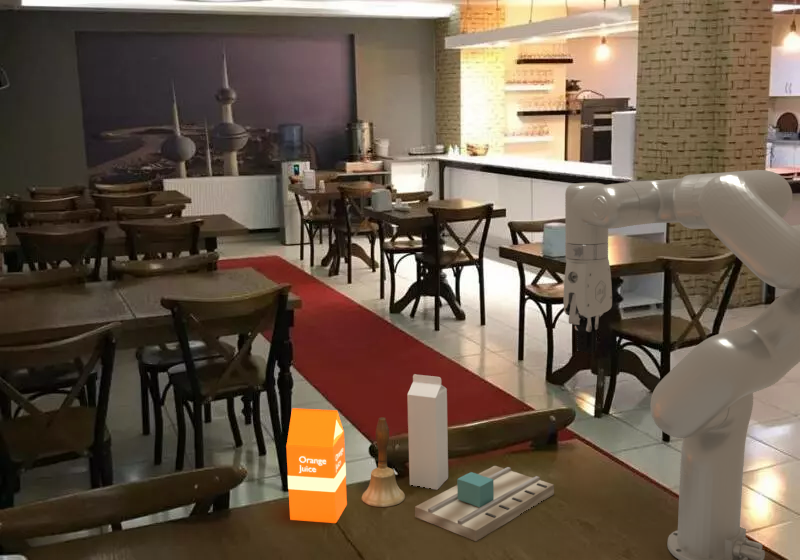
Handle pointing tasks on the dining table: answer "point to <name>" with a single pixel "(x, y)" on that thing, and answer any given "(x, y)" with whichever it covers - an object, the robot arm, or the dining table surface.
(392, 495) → the hand bell
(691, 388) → the robot arm
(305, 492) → the orange juice
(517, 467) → the dining table surface
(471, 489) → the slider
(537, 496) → the count board
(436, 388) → the milk
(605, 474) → the dining table surface
